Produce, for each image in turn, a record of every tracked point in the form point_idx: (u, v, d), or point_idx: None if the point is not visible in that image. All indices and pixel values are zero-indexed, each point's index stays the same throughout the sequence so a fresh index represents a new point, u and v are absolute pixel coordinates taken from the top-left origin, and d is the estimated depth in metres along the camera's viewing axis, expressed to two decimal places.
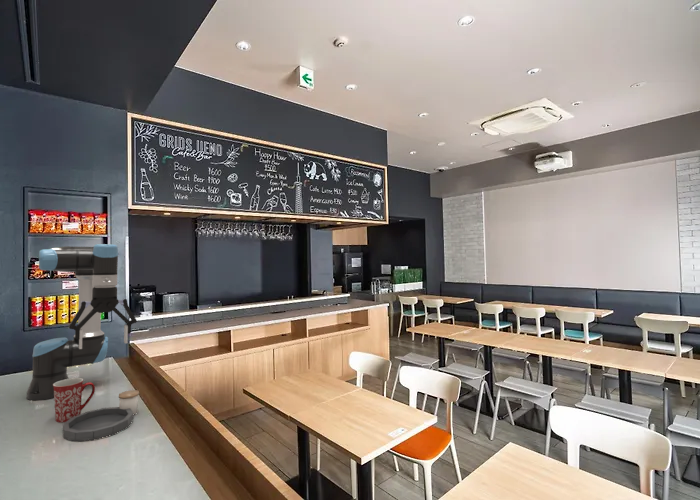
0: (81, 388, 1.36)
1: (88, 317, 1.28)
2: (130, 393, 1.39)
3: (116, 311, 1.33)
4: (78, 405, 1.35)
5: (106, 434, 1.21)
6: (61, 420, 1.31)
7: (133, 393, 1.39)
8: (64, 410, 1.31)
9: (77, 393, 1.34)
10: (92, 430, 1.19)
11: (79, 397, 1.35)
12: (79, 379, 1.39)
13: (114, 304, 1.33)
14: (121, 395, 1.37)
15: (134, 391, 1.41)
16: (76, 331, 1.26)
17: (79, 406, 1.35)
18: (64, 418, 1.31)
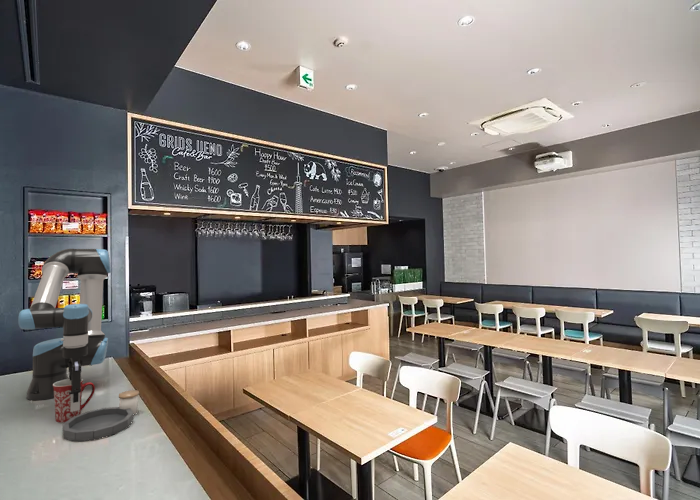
0: (81, 388, 1.36)
1: (70, 374, 1.38)
2: (130, 393, 1.39)
3: (70, 374, 1.33)
4: None
5: (106, 434, 1.21)
6: (61, 420, 1.31)
7: (133, 393, 1.39)
8: (64, 410, 1.31)
9: None
10: (92, 430, 1.19)
11: None
12: None
13: (72, 365, 1.34)
14: (121, 395, 1.37)
15: (134, 391, 1.41)
16: None
17: None
18: (64, 418, 1.31)
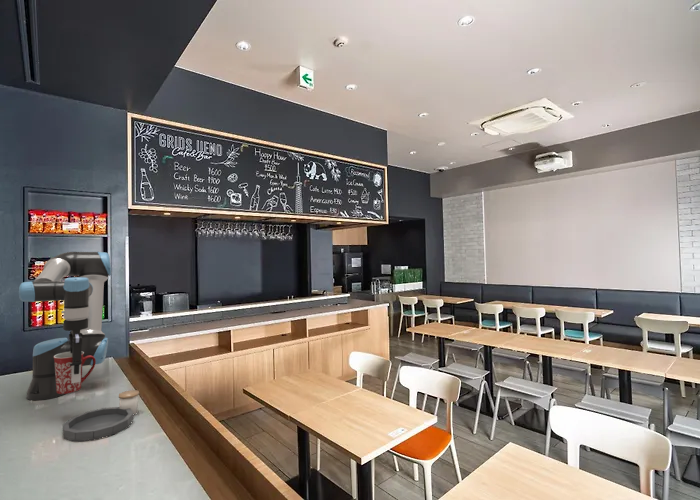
0: (82, 361, 1.37)
1: (70, 347, 1.38)
2: (130, 393, 1.39)
3: (70, 346, 1.34)
4: None
5: (106, 434, 1.21)
6: (62, 391, 1.32)
7: (133, 393, 1.39)
8: (65, 382, 1.32)
9: None
10: (92, 430, 1.19)
11: None
12: None
13: (72, 337, 1.34)
14: (121, 395, 1.37)
15: (134, 391, 1.41)
16: None
17: None
18: (65, 390, 1.32)
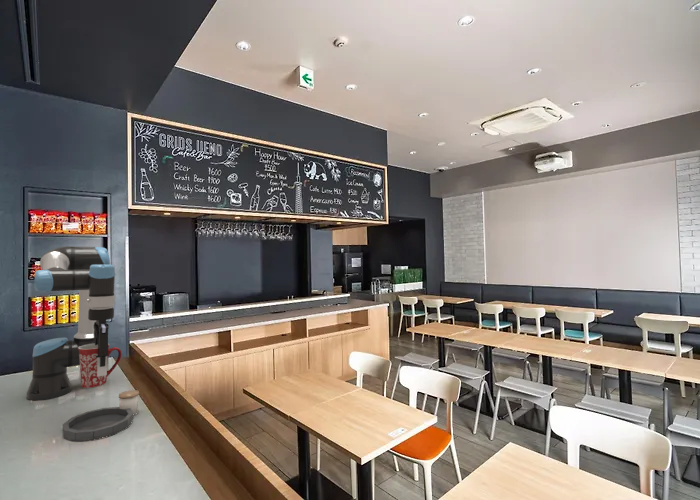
0: None
1: (95, 338, 1.30)
2: (130, 393, 1.39)
3: (96, 337, 1.25)
4: None
5: (106, 434, 1.21)
6: (87, 385, 1.23)
7: (133, 393, 1.39)
8: (90, 375, 1.24)
9: None
10: (92, 430, 1.19)
11: None
12: None
13: (98, 327, 1.26)
14: (121, 395, 1.37)
15: (134, 391, 1.41)
16: None
17: None
18: (90, 383, 1.24)
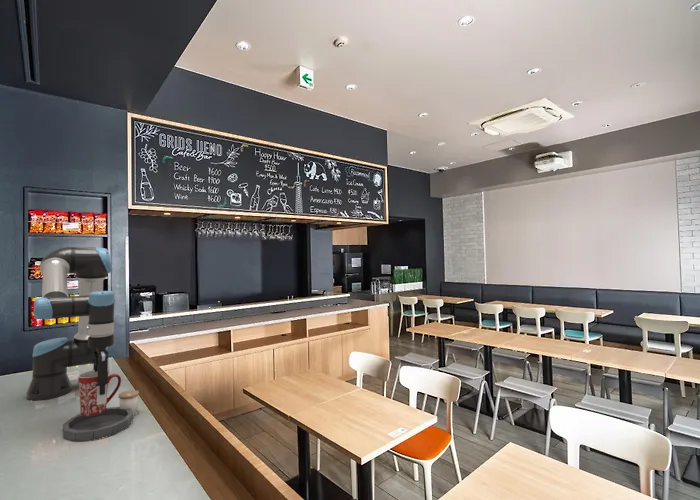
0: None
1: (95, 365, 1.30)
2: (130, 393, 1.39)
3: (96, 365, 1.25)
4: None
5: (106, 434, 1.21)
6: (87, 414, 1.23)
7: (133, 393, 1.39)
8: (90, 403, 1.23)
9: None
10: (92, 430, 1.19)
11: None
12: None
13: (98, 355, 1.26)
14: (121, 395, 1.37)
15: (134, 391, 1.41)
16: None
17: None
18: (89, 412, 1.23)
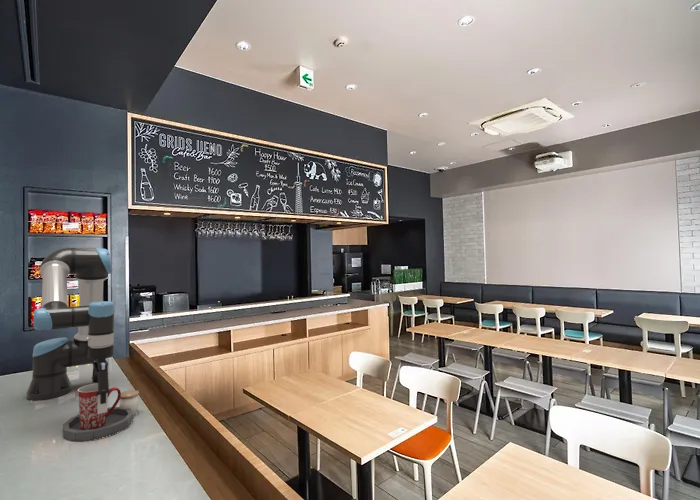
0: None
1: (94, 373, 1.31)
2: (130, 393, 1.39)
3: (96, 375, 1.25)
4: None
5: (106, 434, 1.21)
6: (86, 428, 1.23)
7: (133, 393, 1.39)
8: (89, 417, 1.23)
9: None
10: (92, 430, 1.19)
11: None
12: None
13: (97, 366, 1.25)
14: (121, 395, 1.37)
15: (134, 391, 1.41)
16: None
17: (105, 413, 1.27)
18: (89, 426, 1.23)
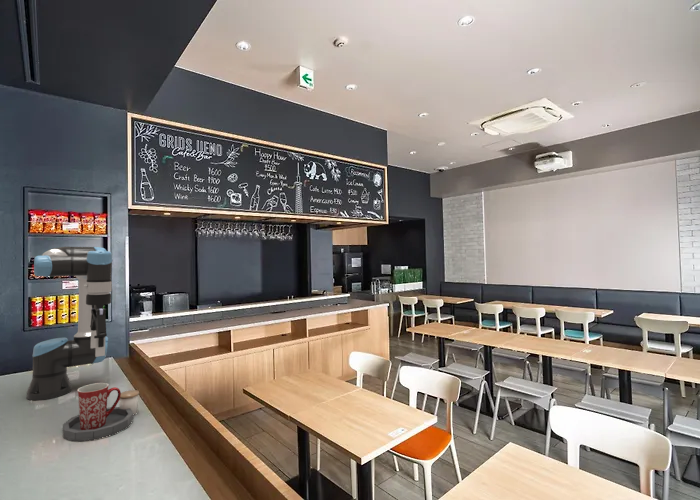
0: (107, 394, 1.28)
1: (92, 320, 1.35)
2: (130, 393, 1.39)
3: (94, 320, 1.28)
4: (104, 412, 1.26)
5: (106, 434, 1.21)
6: (86, 428, 1.23)
7: (133, 393, 1.39)
8: (89, 417, 1.23)
9: (103, 399, 1.26)
10: (92, 430, 1.19)
11: (105, 403, 1.27)
12: (104, 384, 1.30)
13: (95, 312, 1.29)
14: (121, 395, 1.37)
15: (134, 391, 1.41)
16: (92, 331, 1.38)
17: (105, 413, 1.27)
18: (89, 426, 1.23)
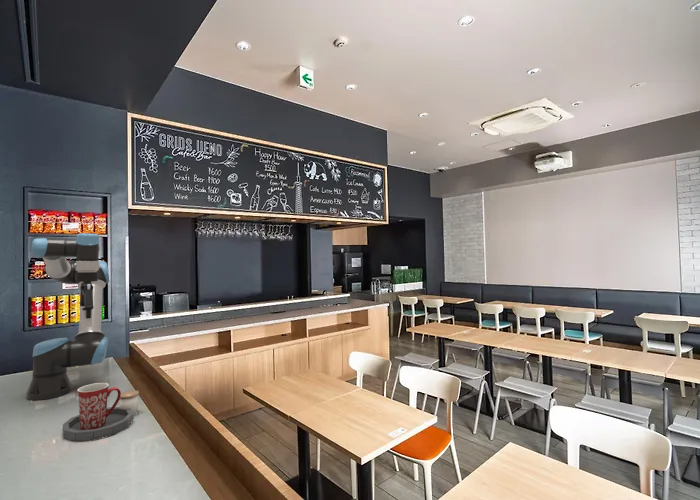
0: (107, 394, 1.28)
1: (81, 296, 1.50)
2: (130, 393, 1.39)
3: (82, 295, 1.43)
4: (104, 412, 1.27)
5: (106, 434, 1.21)
6: (86, 428, 1.23)
7: (133, 393, 1.39)
8: (89, 417, 1.23)
9: (103, 399, 1.26)
10: (92, 430, 1.19)
11: (105, 403, 1.27)
12: (104, 384, 1.30)
13: (84, 288, 1.44)
14: (121, 395, 1.37)
15: (134, 391, 1.41)
16: None
17: (105, 413, 1.27)
18: (89, 426, 1.23)
